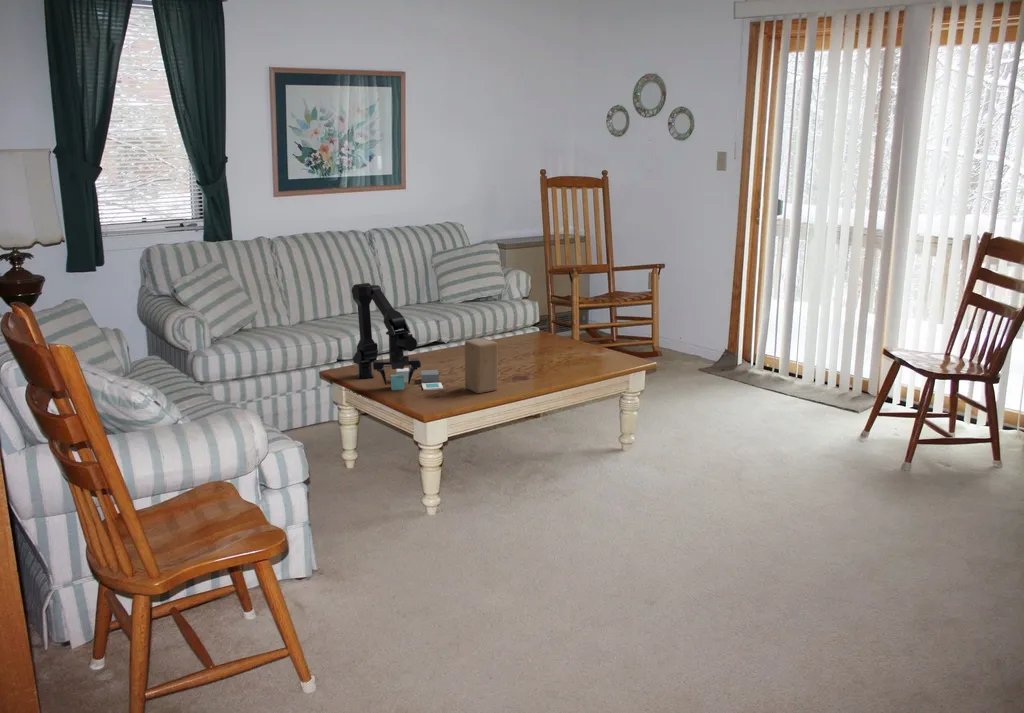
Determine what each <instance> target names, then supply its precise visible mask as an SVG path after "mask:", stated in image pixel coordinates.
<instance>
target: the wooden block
mask: <svg viewBox="0 0 1024 713" xmlns="http://www.w3.org/2000/svg"><path fill="white" fill-rule="evenodd" d="M498 347H499V344H498V342H497V341H494V340H491V339H488V338H486V337H482V338H476V339H470V340H469V339H467V340H465V342H464V382H465V383H464V387H465V389H467V390H469V391H472V392H474V393H477V394H483V393H486V392H493V391H497V390H498V387H499V386H498V385H499V384H498V383H499V382H498V380H499V379H498V378H499V377H498V376H499V375H498V374H499V372H498V370H499V368H498V367H499V366H498V364H499V363H498V362H499V361H498V360H499V357H498V356H499V354H498V353H499V352H498V351H499V350H498V349H499V348H498Z"/></svg>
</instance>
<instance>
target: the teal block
mask: <svg viewBox="0 0 1024 713" xmlns="http://www.w3.org/2000/svg"><path fill="white" fill-rule="evenodd" d="M390 388H391V391H402V390H405V383H404V376H403V375H396V374H390Z"/></svg>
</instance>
